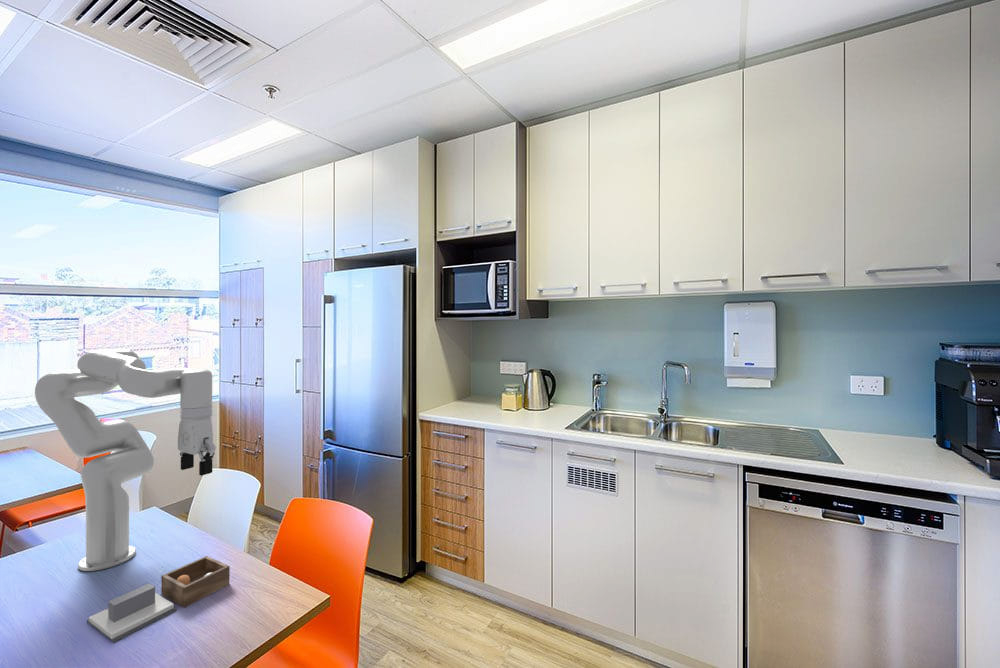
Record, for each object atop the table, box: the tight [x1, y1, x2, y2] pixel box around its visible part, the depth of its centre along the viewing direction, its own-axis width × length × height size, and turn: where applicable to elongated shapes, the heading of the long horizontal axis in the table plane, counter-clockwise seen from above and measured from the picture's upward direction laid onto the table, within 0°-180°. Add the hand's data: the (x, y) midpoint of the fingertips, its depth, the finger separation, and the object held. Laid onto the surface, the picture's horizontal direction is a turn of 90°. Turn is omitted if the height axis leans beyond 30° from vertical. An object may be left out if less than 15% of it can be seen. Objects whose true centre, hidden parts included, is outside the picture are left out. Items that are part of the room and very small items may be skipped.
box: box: [160, 555, 231, 609], centre depth 112 cm, size 11×11×5 cm
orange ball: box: [177, 575, 190, 585], centre depth 112 cm, size 3×3×3 cm
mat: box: [86, 607, 177, 643], centre depth 102 cm, size 14×12×1 cm
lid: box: [88, 583, 175, 639], centre depth 102 cm, size 12×12×5 cm
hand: (196, 471), depth 122 cm, fingers open, 9 cm apart
